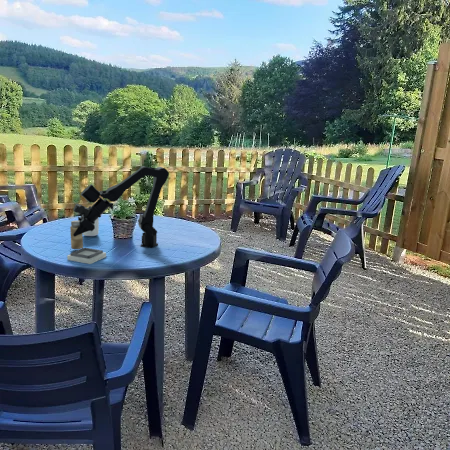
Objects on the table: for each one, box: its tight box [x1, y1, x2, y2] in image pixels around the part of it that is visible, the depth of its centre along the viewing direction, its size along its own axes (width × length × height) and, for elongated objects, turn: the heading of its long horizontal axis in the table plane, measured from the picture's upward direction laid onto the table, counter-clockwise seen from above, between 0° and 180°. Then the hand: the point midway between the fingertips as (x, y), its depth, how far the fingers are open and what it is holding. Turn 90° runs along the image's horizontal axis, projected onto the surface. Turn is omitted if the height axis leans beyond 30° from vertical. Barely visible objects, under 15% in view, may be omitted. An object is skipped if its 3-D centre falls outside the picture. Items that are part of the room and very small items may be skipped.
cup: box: [83, 218, 100, 237], centre depth 219 cm, size 8×8×14 cm
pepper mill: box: [69, 219, 84, 250], centre depth 195 cm, size 5×5×12 cm
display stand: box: [66, 247, 107, 265], centre depth 186 cm, size 12×11×3 cm
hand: (73, 234), depth 194 cm, fingers closed on pepper mill, 5 cm apart
